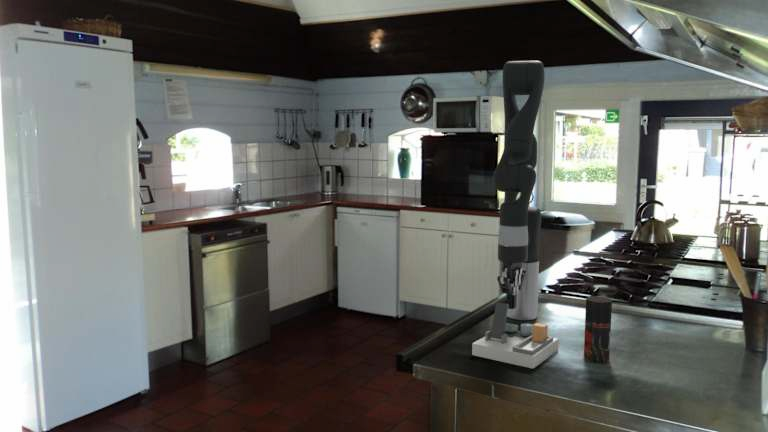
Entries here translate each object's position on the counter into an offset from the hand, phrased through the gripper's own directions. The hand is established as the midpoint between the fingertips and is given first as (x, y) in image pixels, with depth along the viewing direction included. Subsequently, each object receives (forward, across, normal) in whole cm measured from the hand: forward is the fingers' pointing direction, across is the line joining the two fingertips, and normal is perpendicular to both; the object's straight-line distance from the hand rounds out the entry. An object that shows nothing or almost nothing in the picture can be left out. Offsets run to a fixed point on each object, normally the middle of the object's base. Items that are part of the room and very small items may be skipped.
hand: (511, 308), depth 166 cm
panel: (+10, +5, +4) cm, 12 cm away
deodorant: (+10, -2, +22) cm, 24 cm away
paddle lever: (+7, +8, 0) cm, 11 cm away
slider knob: (+7, +2, +9) cm, 11 cm away
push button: (+7, 0, +4) cm, 8 cm away
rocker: (+7, +1, 0) cm, 7 cm away
